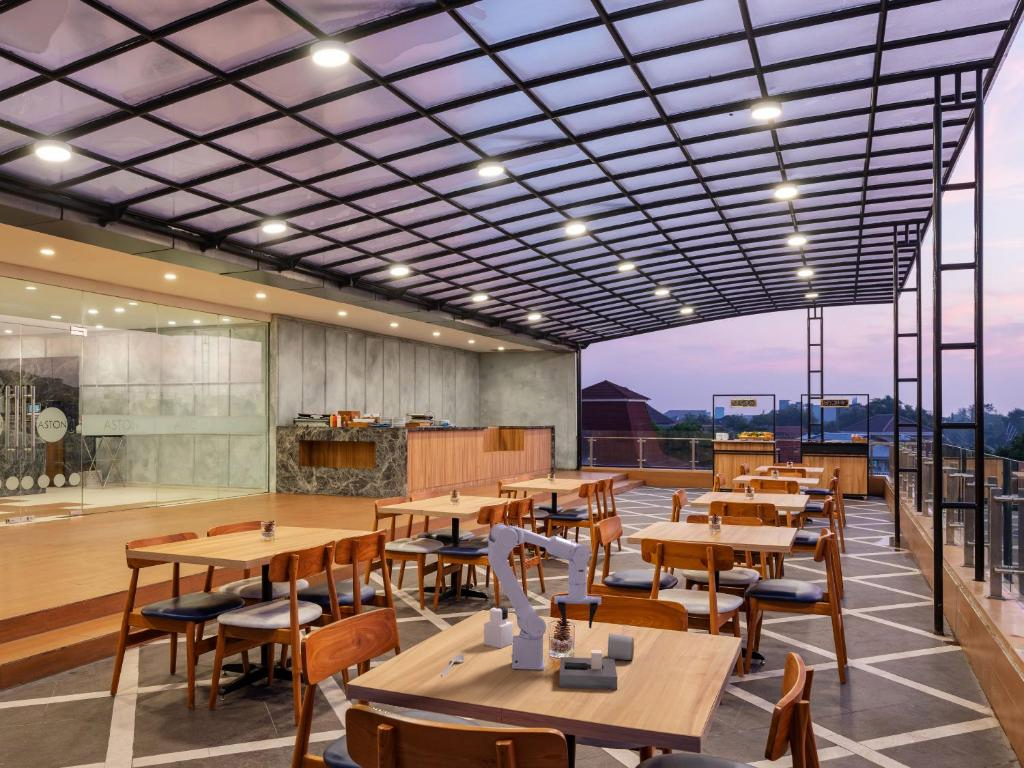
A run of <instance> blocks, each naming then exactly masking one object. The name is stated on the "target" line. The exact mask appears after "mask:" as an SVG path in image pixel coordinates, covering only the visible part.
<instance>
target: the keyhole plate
mask: <svg viewBox="0 0 1024 768" xmlns="http://www.w3.org/2000/svg"><path fill="white" fill-rule="evenodd" d="M560 688H562V689H589V690H611V691H612V690H615V691H617V690H618V673H617V667H616V662H615V659H608V658H602V669H591V657H565V656H564V657H563V656H561V657H560V663H559V689H560Z"/></svg>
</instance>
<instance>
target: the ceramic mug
mask: <svg viewBox="0 0 1024 768" xmlns="http://www.w3.org/2000/svg"><path fill="white" fill-rule="evenodd" d="M607 640H608V642H607V659H614V660H621V661H632V660H634V657H635V656H634V655H635V638H634V637H633V636H630V635H624V634H619V633H611V632H610V633H608V639H607Z"/></svg>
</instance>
